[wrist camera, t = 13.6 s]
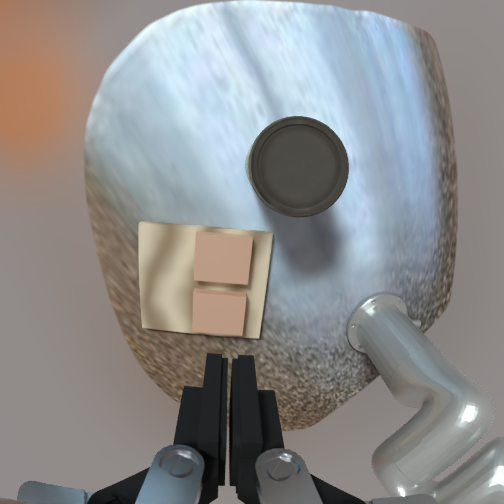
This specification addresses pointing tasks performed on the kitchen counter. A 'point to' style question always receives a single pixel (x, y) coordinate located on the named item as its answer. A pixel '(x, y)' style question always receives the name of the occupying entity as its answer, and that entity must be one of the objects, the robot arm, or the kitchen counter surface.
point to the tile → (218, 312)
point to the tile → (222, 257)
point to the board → (192, 277)
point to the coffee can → (297, 166)
